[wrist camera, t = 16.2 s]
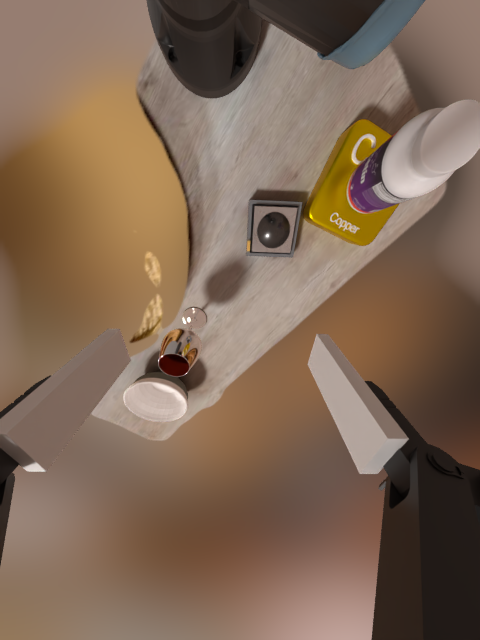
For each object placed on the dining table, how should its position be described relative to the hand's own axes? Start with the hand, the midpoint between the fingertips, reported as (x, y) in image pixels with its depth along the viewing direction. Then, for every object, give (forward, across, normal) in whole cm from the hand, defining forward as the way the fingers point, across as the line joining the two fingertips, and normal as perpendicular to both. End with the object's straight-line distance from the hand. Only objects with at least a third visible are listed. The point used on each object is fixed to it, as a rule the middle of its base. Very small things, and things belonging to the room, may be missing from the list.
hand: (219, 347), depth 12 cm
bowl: (+33, -22, -41) cm, 57 cm away
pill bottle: (+28, +23, +13) cm, 39 cm away
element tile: (+33, +23, +13) cm, 43 cm away
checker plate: (+31, +8, +6) cm, 33 cm away
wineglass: (+33, -10, -16) cm, 38 cm away
